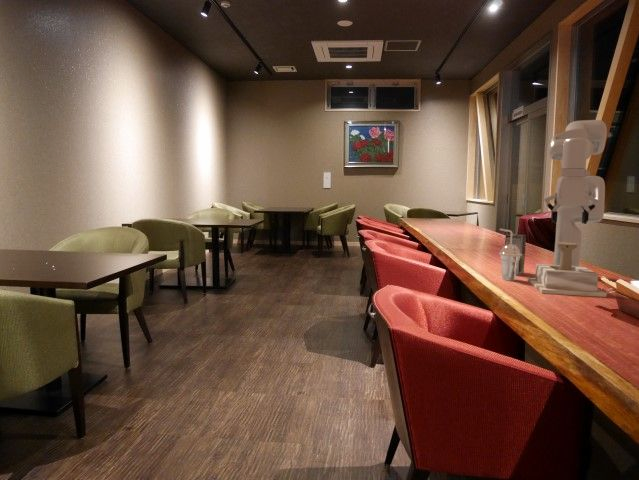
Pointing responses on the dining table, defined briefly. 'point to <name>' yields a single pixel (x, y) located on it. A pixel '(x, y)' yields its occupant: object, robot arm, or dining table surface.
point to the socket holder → (566, 281)
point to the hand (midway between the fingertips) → (569, 223)
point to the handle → (566, 255)
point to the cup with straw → (509, 259)
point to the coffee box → (520, 243)
